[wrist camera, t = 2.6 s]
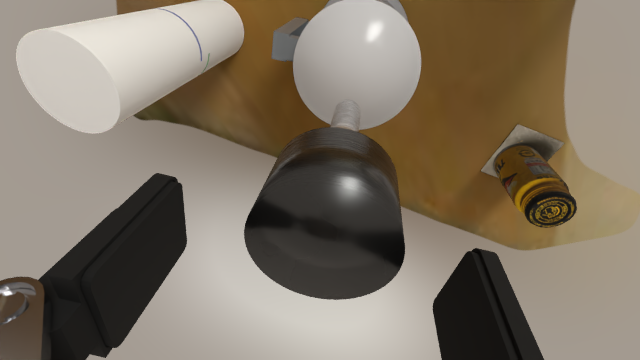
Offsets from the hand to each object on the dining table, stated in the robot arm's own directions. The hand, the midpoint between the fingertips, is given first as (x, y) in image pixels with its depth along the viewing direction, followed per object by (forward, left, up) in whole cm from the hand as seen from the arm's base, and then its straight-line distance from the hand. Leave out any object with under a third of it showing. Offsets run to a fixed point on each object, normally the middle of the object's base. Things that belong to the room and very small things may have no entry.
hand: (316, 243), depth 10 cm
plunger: (0, 0, -11) cm, 11 cm away
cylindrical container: (+19, +3, -37) cm, 41 cm away
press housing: (+1, 0, -36) cm, 36 cm away
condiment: (-27, +11, -37) cm, 47 cm away
